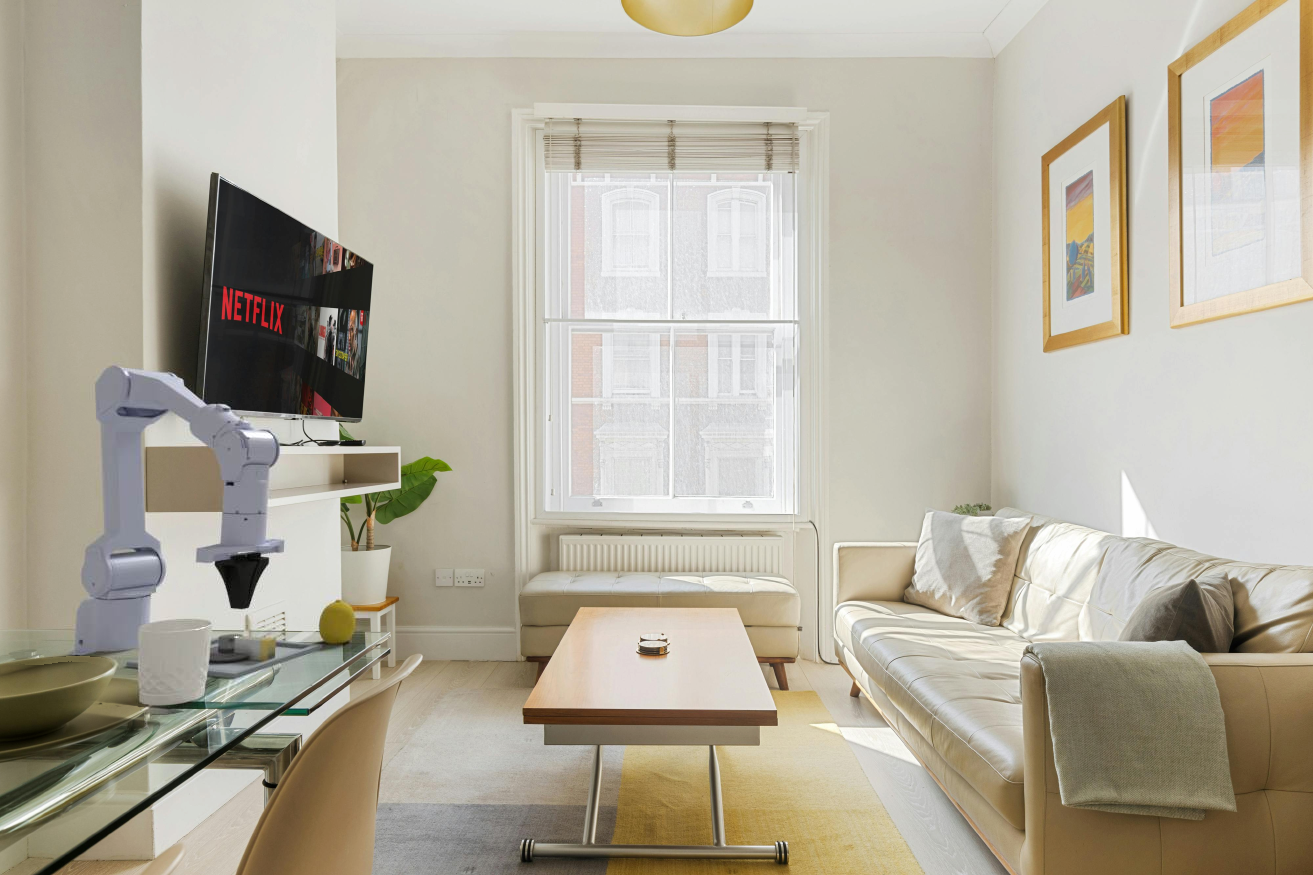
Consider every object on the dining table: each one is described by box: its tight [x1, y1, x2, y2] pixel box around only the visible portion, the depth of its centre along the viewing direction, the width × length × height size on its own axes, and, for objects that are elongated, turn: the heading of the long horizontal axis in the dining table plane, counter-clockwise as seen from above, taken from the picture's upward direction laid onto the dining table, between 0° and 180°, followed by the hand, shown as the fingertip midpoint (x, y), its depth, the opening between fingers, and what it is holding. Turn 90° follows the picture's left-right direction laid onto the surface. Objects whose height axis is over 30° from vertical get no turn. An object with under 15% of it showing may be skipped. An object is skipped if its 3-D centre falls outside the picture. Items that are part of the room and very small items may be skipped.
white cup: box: [137, 618, 214, 715], centre depth 96 cm, size 8×8×10 cm
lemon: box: [318, 599, 356, 645], centre depth 127 cm, size 6×6×8 cm
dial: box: [209, 633, 277, 662], centre depth 115 cm, size 11×8×3 cm
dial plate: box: [125, 637, 323, 679], centre depth 115 cm, size 18×18×2 cm
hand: (239, 607), depth 111 cm, fingers closed
